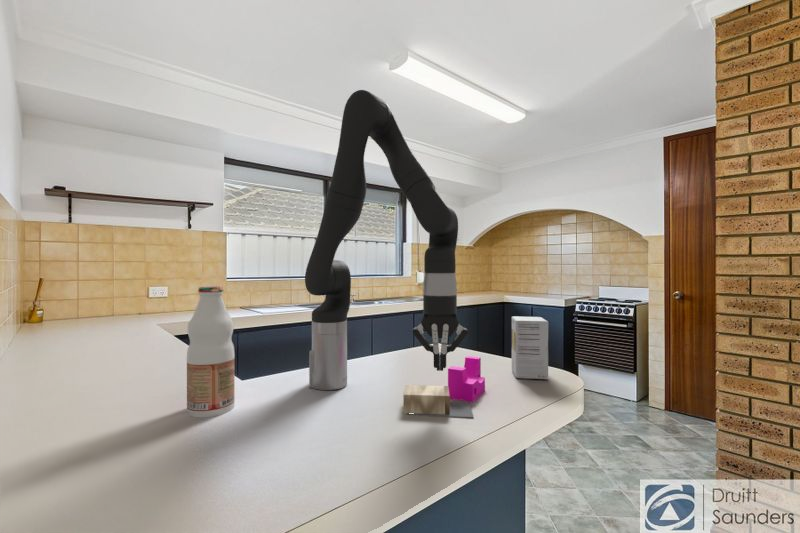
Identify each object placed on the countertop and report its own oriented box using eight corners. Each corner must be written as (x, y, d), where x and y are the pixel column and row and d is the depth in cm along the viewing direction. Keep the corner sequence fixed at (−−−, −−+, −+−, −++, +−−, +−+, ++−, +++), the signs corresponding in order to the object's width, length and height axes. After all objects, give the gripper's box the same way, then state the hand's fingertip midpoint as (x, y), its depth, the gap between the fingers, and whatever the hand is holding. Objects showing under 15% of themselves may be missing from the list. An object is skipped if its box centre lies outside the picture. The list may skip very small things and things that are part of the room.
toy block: (472, 403, 93) (472, 371, 93) (448, 399, 96) (447, 368, 96) (489, 386, 106) (489, 358, 106) (467, 382, 109) (467, 356, 109)
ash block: (449, 414, 84) (403, 413, 85) (448, 403, 91) (405, 401, 92) (449, 395, 84) (403, 394, 85) (448, 386, 91) (405, 385, 92)
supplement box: (511, 369, 122) (510, 316, 122) (541, 370, 121) (541, 316, 121) (515, 378, 112) (515, 320, 112) (549, 379, 111) (549, 320, 111)
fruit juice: (185, 426, 79) (185, 288, 79) (187, 411, 87) (187, 286, 87) (235, 418, 83) (235, 287, 83) (233, 404, 92) (233, 285, 92)
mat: (398, 416, 84) (398, 414, 84) (402, 401, 93) (402, 400, 93) (473, 418, 83) (473, 416, 83) (469, 403, 92) (469, 402, 92)
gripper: (409, 294, 85) (409, 373, 85) (471, 294, 84) (471, 375, 84) (411, 292, 92) (411, 365, 92) (468, 292, 91) (468, 366, 91)
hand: (440, 369), depth 88 cm, fingers closed
